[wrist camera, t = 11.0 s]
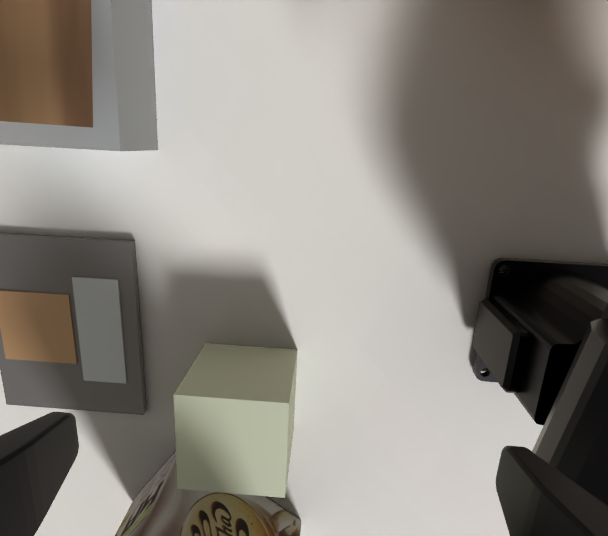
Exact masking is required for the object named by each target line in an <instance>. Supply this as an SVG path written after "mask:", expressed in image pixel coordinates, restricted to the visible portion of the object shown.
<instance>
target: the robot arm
mask: <svg viewBox="0 0 608 536" xmlns="http://www.w3.org/2000/svg"><path fill="white" fill-rule="evenodd" d="M503 265H506V266H507V269H506V271H505V272H503V273H499V269H500V267H501V266H503ZM472 346H473V348H474V349H475V351H476V353H475V359H474V364H473V372H474V374H475V376H476V377H477V378H478V379H479V380H481V381H488V382H498V383H499V384H500V386H501V387H502V388H503V389H504V390H505V391H506V392H508V393H514V394H515V395H516V397H517V398H518V399H519V401H520V402H521V403H522V405H523V406H524V408H525V409H526V410H527V412H528V413H529V414H530V416H531V417H532V418H533V420H534V421H535V422H536V423H537V424H540V425H544V426H543V429H542V431H541V433H540V435H539V438H538V440H537V442H536V444H535V446H534V449H533V451H530V450H529V449H527V448H525V447H517V446H506V447H504V448H503V450H502V453H501V457H500V462H499V467H498V471H497V476H496V489H497V493H498V496H499V500H500V503H501V507H502V510H503V513H504V517H505V520H506V524H507V527H508V530H509V534H510V536H608V264H597V263H580V262H563V261H546V260H528V259H511V258H499V259H497V260H495V261H494V262H493V263H492V266H491V269H490V275H489V280H488V286H487V291H486V297H485V298H484V299H482V300H481V301H480V304H479V309H478V315H477V321H476V326H475V332H474V338H473V344H472ZM484 368H487V371H486V372H485V373H480V371H481V370H482V369H484ZM78 449H79V443H78V435H77V427H76V420H75V417H74V415H73V414H71V413H65V412H52V413H49V414H47V415H45V416H43V417H40V418H38V419H36V420H34V421H32V422H29V423H27V424H25V425H23V426H21V427H18V428H16V429H14V430H12V431H10V432H7V433H5V434H3V435H1V436H0V536H34V535H35V533H36V531H37V530H38V528H39V526H40V524H41V523H42V521H43V519H44V517H45V516H46V514H47V512H48V510H49V508H50V506H51V504H52V502H53V500H54V499H55V497H56V495H57V493H58V491H59V489H60V487H61V485H62V483H63V481H64V480H65V478H66V476H67V474H68V472H69V470H70V468H71V466H72V464H73V463H74V461H75V459H76V456H77V454H78Z"/></svg>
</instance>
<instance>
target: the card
mask: <svg viewBox="0 0 608 536" xmlns="http://www.w3.org/2000/svg"><path fill="white" fill-rule="evenodd" d="M0 370H1V376H2V381H3V387H4V393H5V398H6V404H8V405H22V406H35V407H48V408H61V409H74V410H87V411H101V412H114V413H127V414H140V415H144V413H145V412H146V411H147V410H146V396H145V381H144V367H143V353H142V338H141V324H140V310H139V295H138V281H137V266H136V252H135V240H118V239H101V238H84V237H67V236H49V235H32V234H15V233H0Z"/></svg>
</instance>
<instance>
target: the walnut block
mask: <svg viewBox="0 0 608 536" xmlns="http://www.w3.org/2000/svg"><path fill="white" fill-rule="evenodd" d="M0 121H6V122H20V123H34V124H49V125H63V126H77V127H91V128H93V85H92V21H91V0H0Z"/></svg>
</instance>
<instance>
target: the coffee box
mask: <svg viewBox="0 0 608 536" xmlns="http://www.w3.org/2000/svg"><path fill="white" fill-rule="evenodd" d="M300 530H301V521H300V520H299V519H298V518H297V517H295V516H294V515H292V514H291V513H289V512H288V511H286V510H284V509H283V508H281V507H280V506H278V505H277V504H275V503H274V502H272V501H271V500H269V499H268V498H266V497H265V496H257V495H245V494H233V493H221V492H209V491H197V490H185V489H178V486H177V464H176V452H175V453H174V454H173V455H172V456H171V457H170V458H169V459H168V461H167V462H166V463H165V464H164V465H163V466H162V467H161V468H160V470H159V471H158V472H157V473H156V474H155V475H154V476H153V478H152V479H151V480H150V481H149V482H148V483H147V484H146V485H145V487H144V488H143V489H142V490H141V492H140V493H139V494H138V495H137V496H136V498H135V499H134V500H133V502H132V504H131V506H130V508H129V510H128V512H127V514H126V516H125V517H124V520H123V522H122V523H121V525H120V527H119V529H118V531H117V533H116V535H115V536H300Z"/></svg>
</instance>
